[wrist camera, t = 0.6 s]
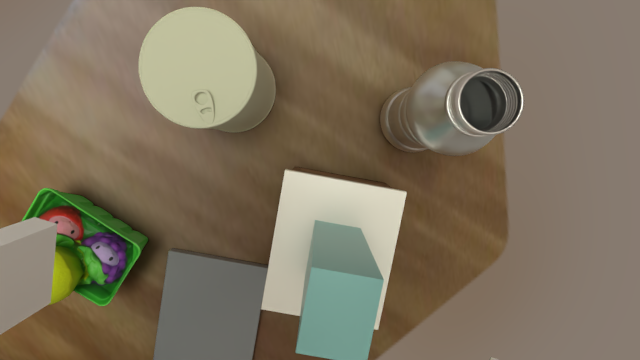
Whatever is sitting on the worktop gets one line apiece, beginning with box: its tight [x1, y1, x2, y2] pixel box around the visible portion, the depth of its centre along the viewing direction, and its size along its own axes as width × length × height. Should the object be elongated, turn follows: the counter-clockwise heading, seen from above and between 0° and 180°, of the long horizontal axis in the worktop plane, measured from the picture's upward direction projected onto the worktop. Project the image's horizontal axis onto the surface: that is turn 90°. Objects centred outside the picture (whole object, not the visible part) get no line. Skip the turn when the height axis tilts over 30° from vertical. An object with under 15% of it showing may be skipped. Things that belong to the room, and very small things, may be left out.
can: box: [139, 7, 276, 132], centre depth 34 cm, size 9×9×12 cm
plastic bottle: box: [380, 61, 524, 156], centre depth 30 cm, size 6×7×20 cm
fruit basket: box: [21, 188, 148, 306], centre depth 36 cm, size 11×9×11 cm
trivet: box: [153, 248, 269, 360], centre depth 42 cm, size 13×11×1 cm
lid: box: [261, 169, 407, 360], centre depth 27 cm, size 13×11×14 cm
